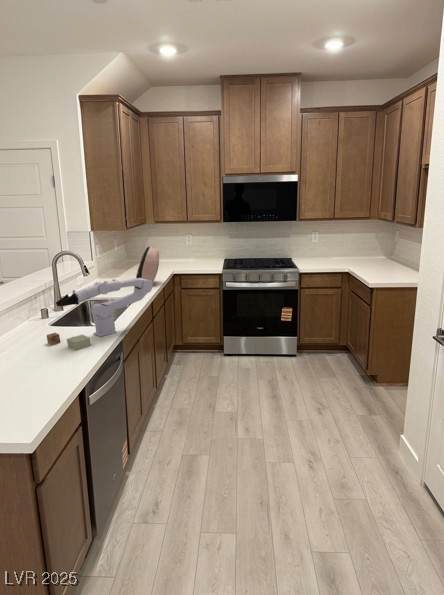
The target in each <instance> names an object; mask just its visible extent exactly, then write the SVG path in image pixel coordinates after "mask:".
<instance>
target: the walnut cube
mask: <svg viewBox="0 0 444 595" xmlns="http://www.w3.org/2000/svg"><path fill="white" fill-rule="evenodd" d="M46 341H47V344H48V345H50V346H54V345H56V344H60V343H61V337H60V334H59V333H57V332H53V333H48V334H46Z"/></svg>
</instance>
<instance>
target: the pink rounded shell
mask: <svg viewBox="0 0 444 595" xmlns="http://www.w3.org/2000/svg"><path fill="white" fill-rule="evenodd" d="M159 266H160V252H159V249H158V248H157V247H154V246H148V247H146V248H145V250H144V252H143V254H142V256H141V259H140V262H139V265H138V268H137V271H136V272H137V273H136V276H135V278H142V279H147V280H151V281H152V283H153V284H154V282H155V279H156V276H157V274H158V271H159V268H160V267H159Z"/></svg>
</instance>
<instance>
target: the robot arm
mask: <svg viewBox="0 0 444 595" xmlns="http://www.w3.org/2000/svg"><path fill="white" fill-rule="evenodd" d="M153 285H154V282H153V283H152V281H151V280H147V279H142V278H136V277H134V278H130V279H125V280H122V281H119V280H118V279H115V278H114V279H113V278H112V279H111V280H108V281H106V280H103V282H101V281H100V282H99V281H98V282H97V281H96V282H95V283H94V284H93V285H91V286H88V287H85V288H83V289H80V290H77V291H76V290H75V289H73V290H72V293H71V295H70V296H69V294H68V293H67V294H65V295H64V296H63V297H62V298H61V299H59V300H57V301H56V302H55V304H56V306H57V307H66V306H67V307H68V306H71V305H79V304H80V303H83V302H85V301H88V300H90V299H92V298H95V297H97V296H101V295H108V293H112V292H118V291H121V289H122V288H129V287H133V293H132V292H131V293H130V294H127V295H123V296H122V297H118V298H116V299H113V300H111V301H108V302H102V303H94V304H93V305H92V306H91V309H90V312H91V314H92V315H93V320H94V325H95V326H94V328H95V332H93V333H92V334H93V335H95V336H97V337H100V338H101V337H105V336H108V335H110V334H115V333H117V331H116V325H115V319H114V317H113V316H112V314H113V313H114V311H116V310H119V309H122V308H124V307H127V306H130V305H132V304H135V303H137V302H140V301H142V300H143V299H144V298H145V296H147V295H148V294H149V293H151V292H152V289H153V287H154V286H153Z"/></svg>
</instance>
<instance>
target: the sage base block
mask: <svg viewBox="0 0 444 595" xmlns="http://www.w3.org/2000/svg"><path fill="white" fill-rule="evenodd" d="M66 344H67V347H68V348H70V349H71V350H74V351H78V350H81V349H84V348H88V347H90V346H92V342H91V337H89V336H87V335H85V334H78V335H75V336H72V337H69V338H66Z"/></svg>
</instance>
